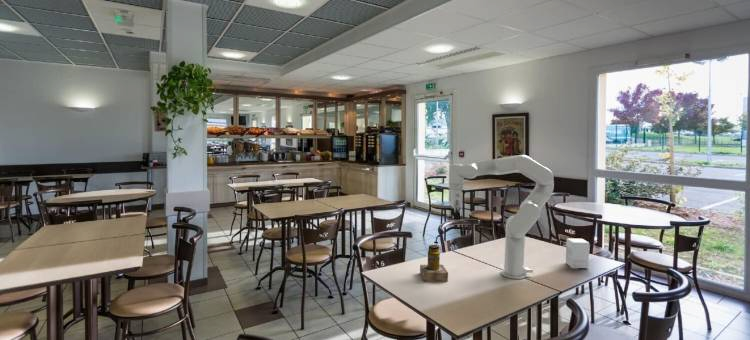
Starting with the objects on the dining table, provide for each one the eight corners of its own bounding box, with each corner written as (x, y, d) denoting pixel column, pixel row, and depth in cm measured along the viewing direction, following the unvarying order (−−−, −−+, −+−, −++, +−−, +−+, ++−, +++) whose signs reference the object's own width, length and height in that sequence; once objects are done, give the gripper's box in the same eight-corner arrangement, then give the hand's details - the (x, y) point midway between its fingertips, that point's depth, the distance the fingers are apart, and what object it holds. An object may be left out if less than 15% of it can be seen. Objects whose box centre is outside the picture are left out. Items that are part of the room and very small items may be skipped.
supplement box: (581, 263, 216) (582, 238, 215) (588, 269, 208) (590, 242, 206) (564, 263, 217) (566, 237, 216) (571, 268, 208) (572, 242, 207)
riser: (442, 273, 200) (442, 264, 200) (447, 282, 188) (448, 272, 188) (420, 273, 200) (420, 264, 199) (424, 282, 188) (424, 273, 187)
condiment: (442, 269, 193) (443, 246, 192) (431, 272, 188) (431, 249, 187) (432, 265, 199) (433, 243, 197) (421, 268, 194) (421, 245, 192)
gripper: (465, 189, 195) (465, 221, 197) (460, 184, 212) (459, 214, 214) (451, 188, 195) (450, 221, 197) (447, 184, 213) (446, 214, 214)
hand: (455, 217), depth 205 cm, fingers open, 9 cm apart
